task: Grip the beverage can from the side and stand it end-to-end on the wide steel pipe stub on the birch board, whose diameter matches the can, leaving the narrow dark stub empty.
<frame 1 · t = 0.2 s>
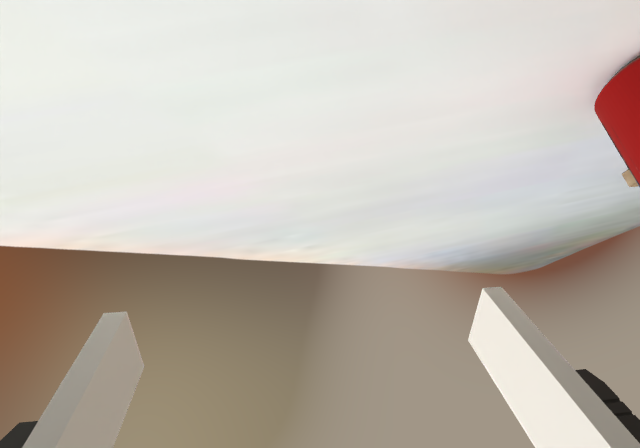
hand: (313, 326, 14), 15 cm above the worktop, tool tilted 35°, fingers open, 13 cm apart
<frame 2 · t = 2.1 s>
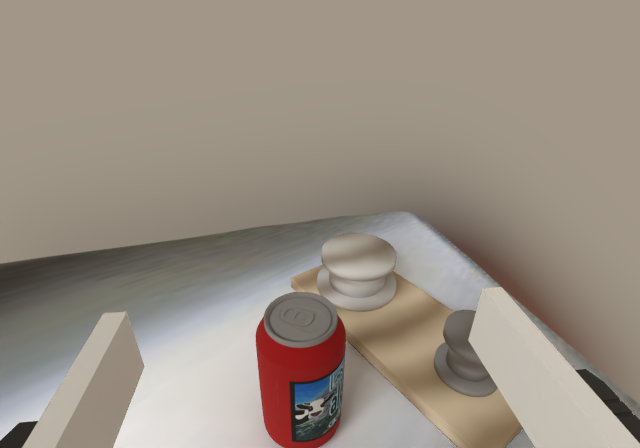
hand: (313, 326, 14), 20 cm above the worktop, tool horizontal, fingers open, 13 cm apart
manifold board: (401, 331, 41), on the worktop
beverage can: (302, 419, 32), on the worktop
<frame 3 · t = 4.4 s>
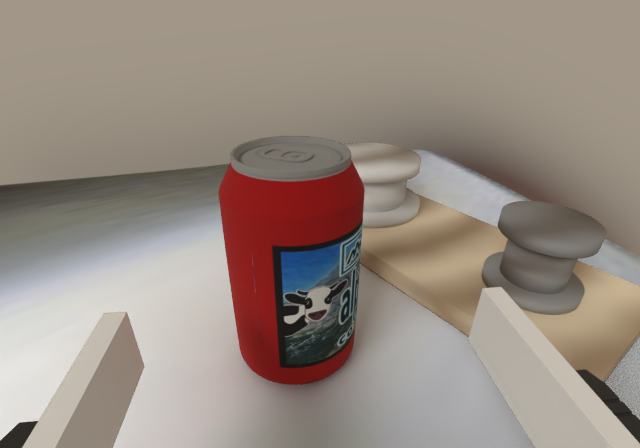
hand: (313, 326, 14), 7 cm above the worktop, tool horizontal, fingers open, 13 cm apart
manifold board: (430, 251, 31), on the worktop
beverage can: (297, 348, 22), on the worktop
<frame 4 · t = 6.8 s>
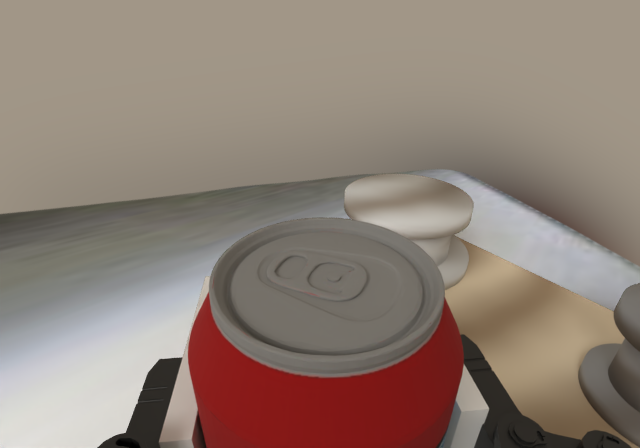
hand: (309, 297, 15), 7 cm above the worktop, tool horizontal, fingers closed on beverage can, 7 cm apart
manifold board: (489, 328, 23), on the worktop
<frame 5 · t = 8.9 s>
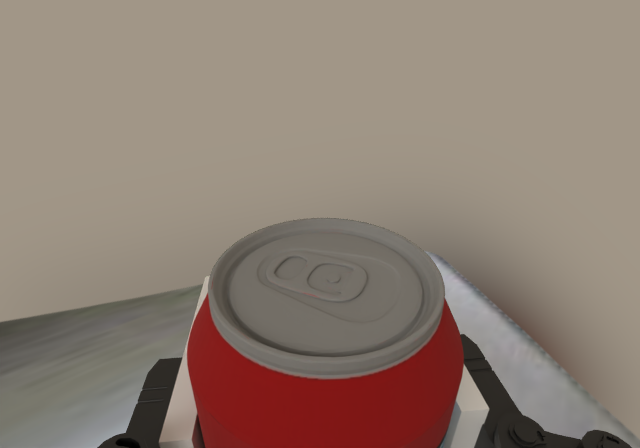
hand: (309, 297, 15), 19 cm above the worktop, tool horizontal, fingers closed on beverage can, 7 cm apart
when the fingers open (15 cm above the worktop, at t = 11.2 s): beverage can drops 1 cm, resting on manifold board.
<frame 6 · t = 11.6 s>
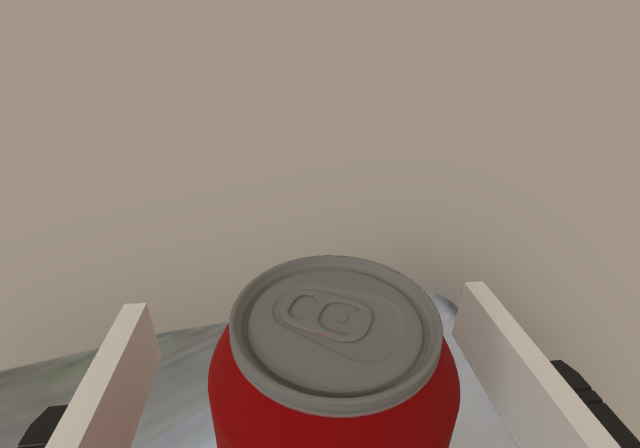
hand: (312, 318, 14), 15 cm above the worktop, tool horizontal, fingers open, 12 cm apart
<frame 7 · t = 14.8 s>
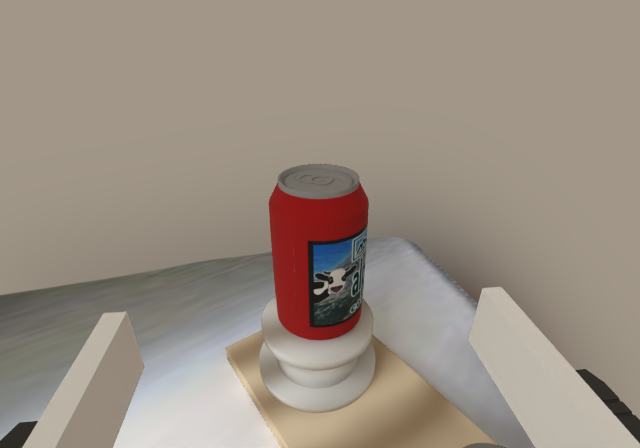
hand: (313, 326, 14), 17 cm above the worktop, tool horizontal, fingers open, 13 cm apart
manifold board: (380, 444, 27), on the worktop
beverage can: (319, 318, 29), point 6 cm above the worktop, touching manifold board
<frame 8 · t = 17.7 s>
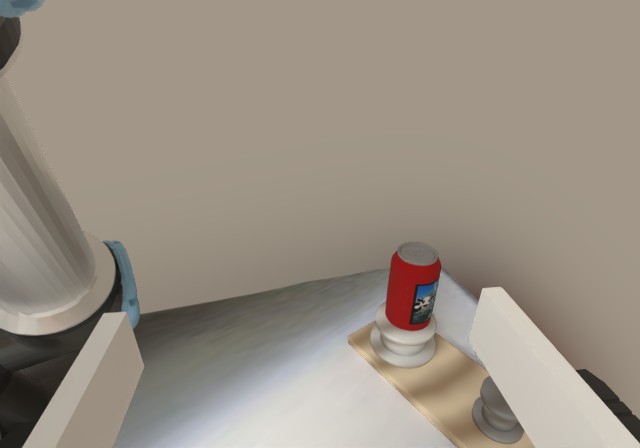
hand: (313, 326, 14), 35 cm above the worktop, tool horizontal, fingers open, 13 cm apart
manifold board: (442, 384, 52), on the worktop
beverage can: (406, 319, 55), point 6 cm above the worktop, touching manifold board
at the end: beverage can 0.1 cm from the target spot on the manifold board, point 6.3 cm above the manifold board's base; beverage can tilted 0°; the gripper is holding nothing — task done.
